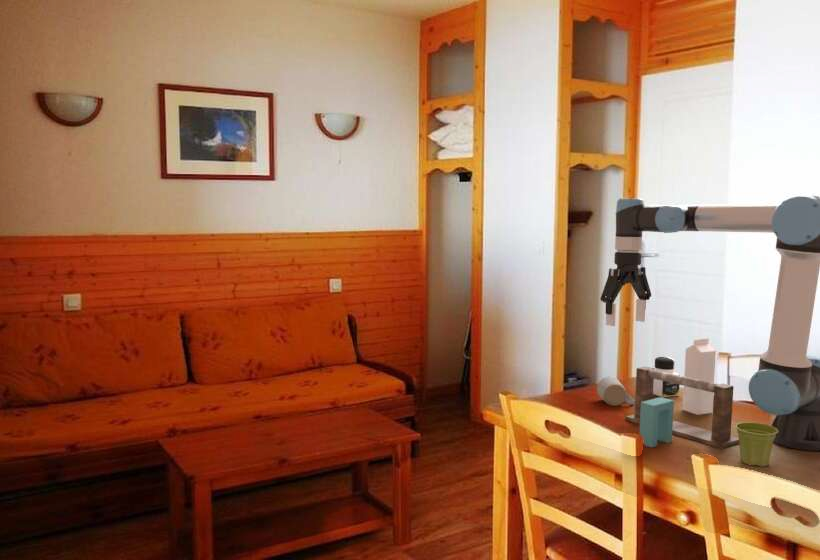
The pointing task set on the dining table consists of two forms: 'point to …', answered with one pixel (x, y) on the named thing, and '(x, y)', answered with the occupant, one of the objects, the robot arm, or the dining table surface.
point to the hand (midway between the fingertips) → (625, 323)
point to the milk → (699, 377)
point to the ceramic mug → (613, 392)
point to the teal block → (656, 421)
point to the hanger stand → (716, 437)
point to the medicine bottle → (665, 387)
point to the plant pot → (755, 442)
